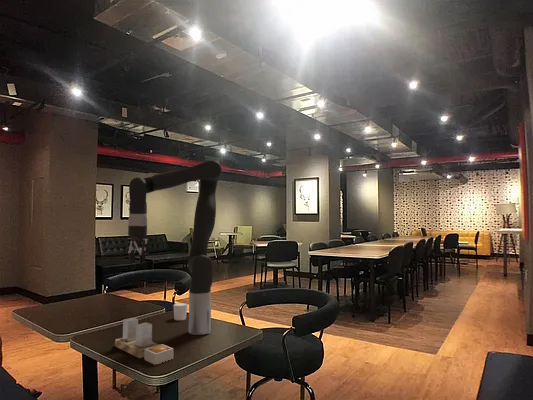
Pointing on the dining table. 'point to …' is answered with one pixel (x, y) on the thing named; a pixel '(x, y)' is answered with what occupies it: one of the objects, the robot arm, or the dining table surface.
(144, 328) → the loose billet
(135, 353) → the beige compartment tray
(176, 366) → the dining table surface
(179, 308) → the white cup
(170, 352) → the button housing
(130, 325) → the seated billet
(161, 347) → the button
